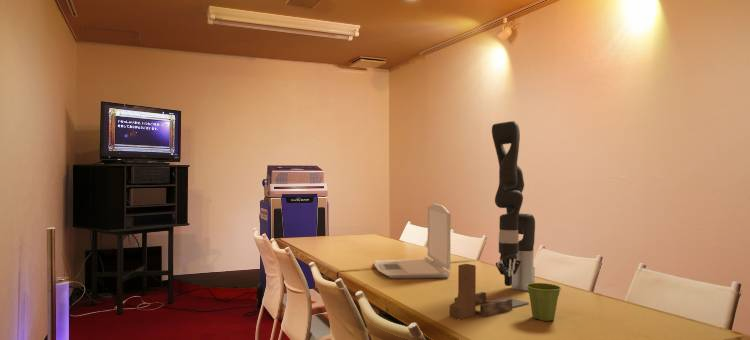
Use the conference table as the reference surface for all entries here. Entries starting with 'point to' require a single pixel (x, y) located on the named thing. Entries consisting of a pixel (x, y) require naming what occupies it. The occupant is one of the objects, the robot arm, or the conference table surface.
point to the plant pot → (543, 300)
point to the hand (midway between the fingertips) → (508, 285)
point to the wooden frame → (491, 305)
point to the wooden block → (465, 293)
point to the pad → (514, 302)
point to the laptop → (436, 250)
